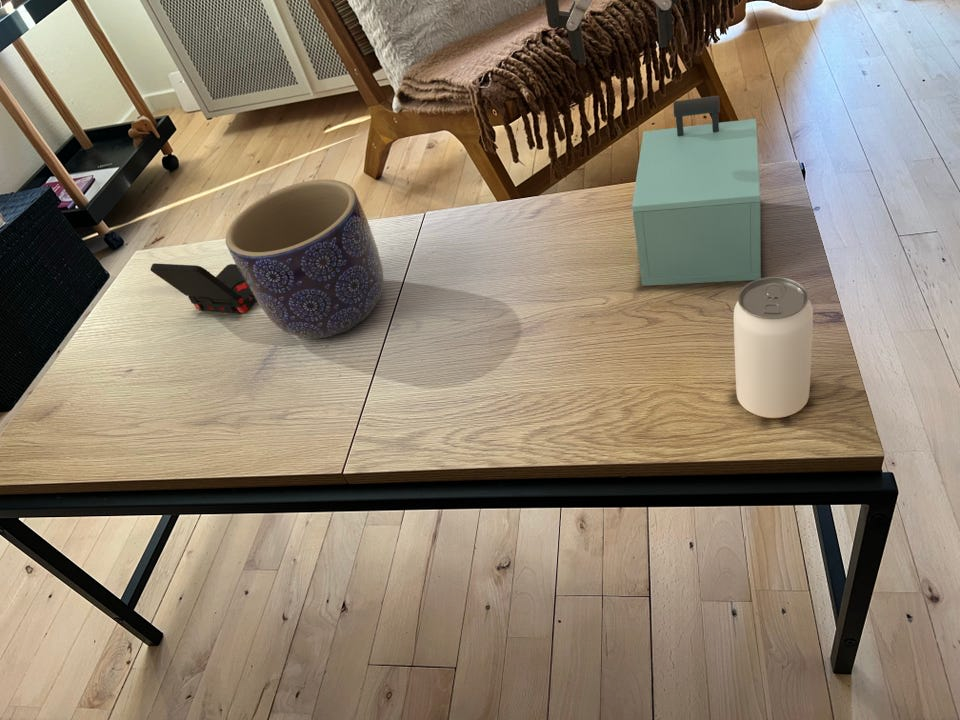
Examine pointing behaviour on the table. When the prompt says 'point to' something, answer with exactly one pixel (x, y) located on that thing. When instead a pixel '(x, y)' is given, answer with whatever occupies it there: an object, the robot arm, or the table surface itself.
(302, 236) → the planter
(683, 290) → the table surface
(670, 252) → the teal open box
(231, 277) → the black phone stand
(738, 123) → the lid
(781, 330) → the can
